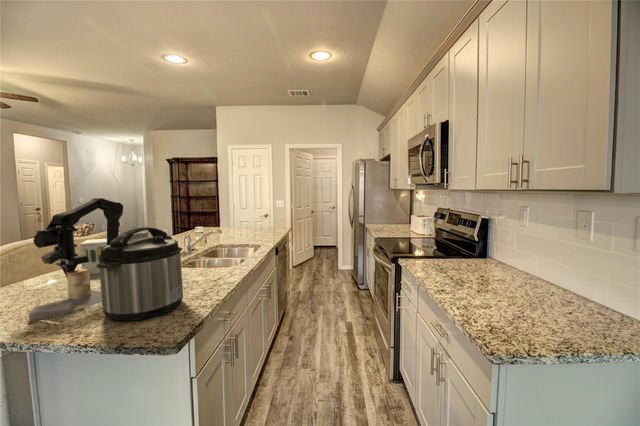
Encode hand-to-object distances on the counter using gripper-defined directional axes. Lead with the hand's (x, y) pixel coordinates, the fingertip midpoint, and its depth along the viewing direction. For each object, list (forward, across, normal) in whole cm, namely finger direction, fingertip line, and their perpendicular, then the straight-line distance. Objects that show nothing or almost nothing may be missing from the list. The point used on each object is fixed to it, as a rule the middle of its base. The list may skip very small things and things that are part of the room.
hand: (69, 278), depth 133 cm
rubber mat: (+8, +12, 0) cm, 15 cm away
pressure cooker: (+8, +43, -1) cm, 44 cm away
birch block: (+7, +6, 0) cm, 10 cm away
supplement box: (+8, -28, +33) cm, 44 cm away
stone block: (+8, +14, -15) cm, 22 cm away
